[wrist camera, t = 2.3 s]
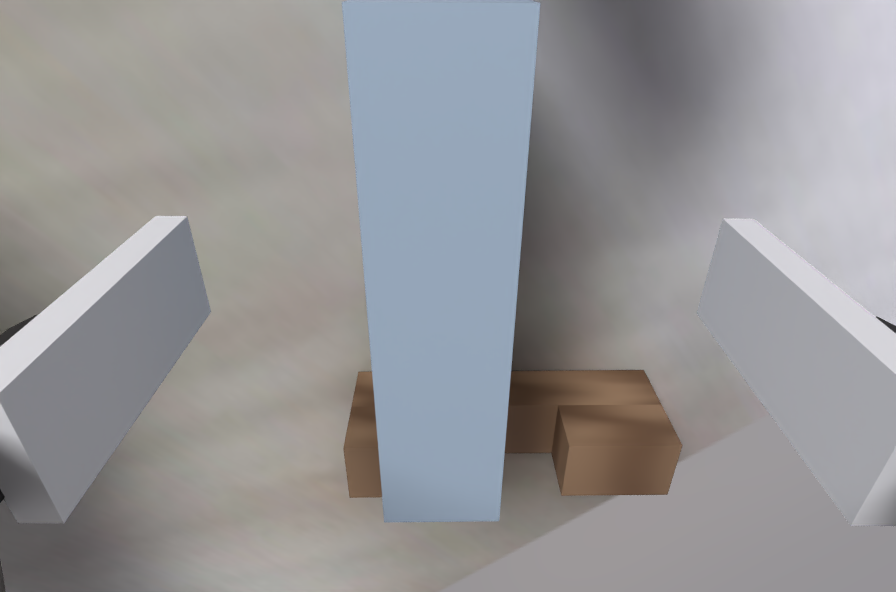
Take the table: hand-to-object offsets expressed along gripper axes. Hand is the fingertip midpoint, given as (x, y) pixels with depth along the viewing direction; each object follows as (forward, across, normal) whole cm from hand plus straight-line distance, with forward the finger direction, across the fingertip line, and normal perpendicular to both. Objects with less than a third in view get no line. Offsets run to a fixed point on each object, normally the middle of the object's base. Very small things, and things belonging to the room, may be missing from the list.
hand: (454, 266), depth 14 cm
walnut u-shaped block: (+9, +2, -12) cm, 15 cm away
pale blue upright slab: (+9, 0, 0) cm, 9 cm away
